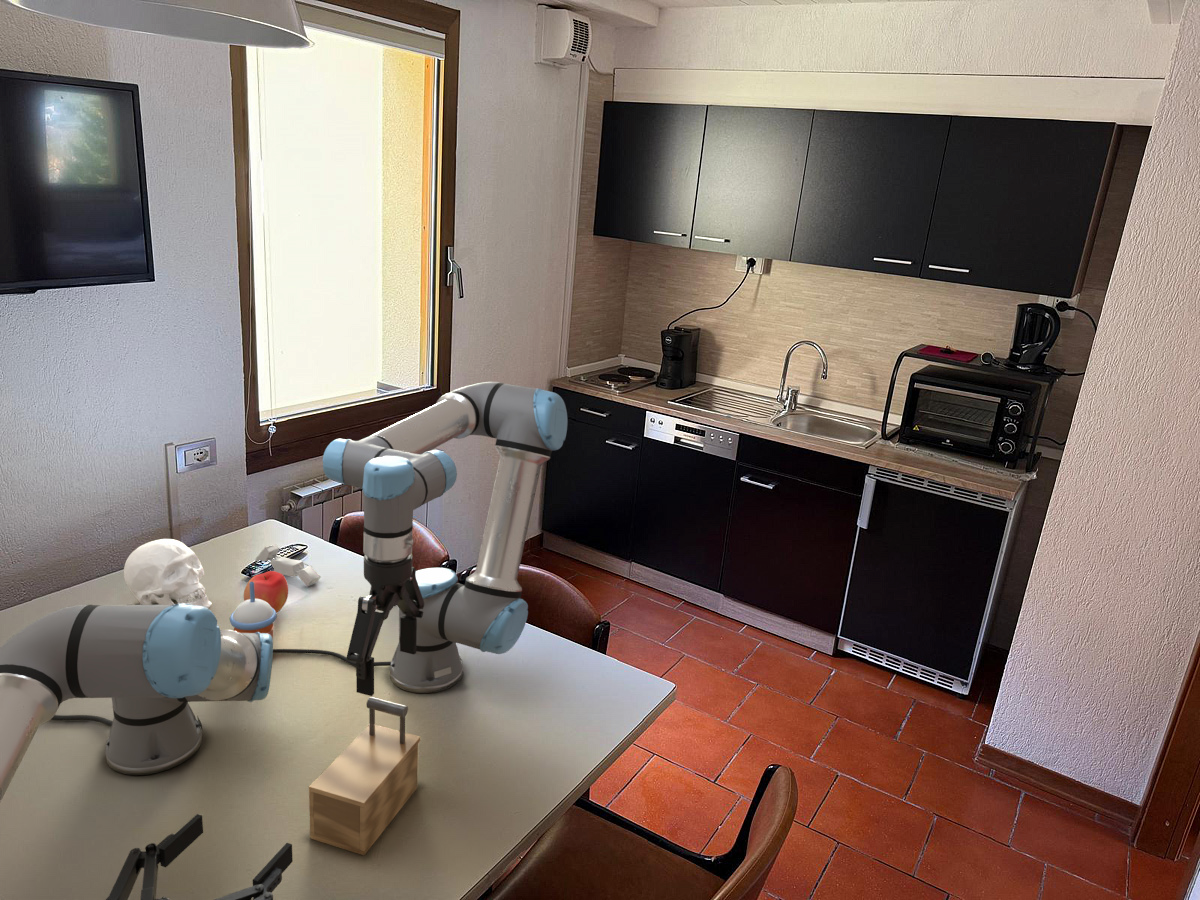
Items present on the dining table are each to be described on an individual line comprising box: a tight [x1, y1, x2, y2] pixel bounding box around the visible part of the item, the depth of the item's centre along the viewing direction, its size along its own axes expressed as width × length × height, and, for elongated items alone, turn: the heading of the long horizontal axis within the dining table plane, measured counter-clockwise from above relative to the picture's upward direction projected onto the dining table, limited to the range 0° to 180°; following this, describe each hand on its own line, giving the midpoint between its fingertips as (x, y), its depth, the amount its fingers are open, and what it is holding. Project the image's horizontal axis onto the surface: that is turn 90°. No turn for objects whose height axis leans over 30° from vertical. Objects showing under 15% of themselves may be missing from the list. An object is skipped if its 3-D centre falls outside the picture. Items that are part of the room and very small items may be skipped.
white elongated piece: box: [254, 544, 322, 587], centre depth 219 cm, size 20×4×7 cm, turn 62°
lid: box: [308, 696, 422, 807], centre depth 139 cm, size 18×10×8 cm, turn 163°
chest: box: [308, 743, 419, 856], centre depth 141 cm, size 17×10×9 cm, turn 163°
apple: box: [243, 570, 289, 614], centre depth 199 cm, size 10×10×10 cm
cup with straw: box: [229, 582, 278, 640], centre depth 180 cm, size 9×9×18 cm
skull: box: [123, 538, 213, 610], centre depth 200 cm, size 13×22×16 cm, turn 73°
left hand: (244, 837), depth 110 cm, fingers open, 13 cm apart
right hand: (387, 671), depth 141 cm, fingers open, 13 cm apart
